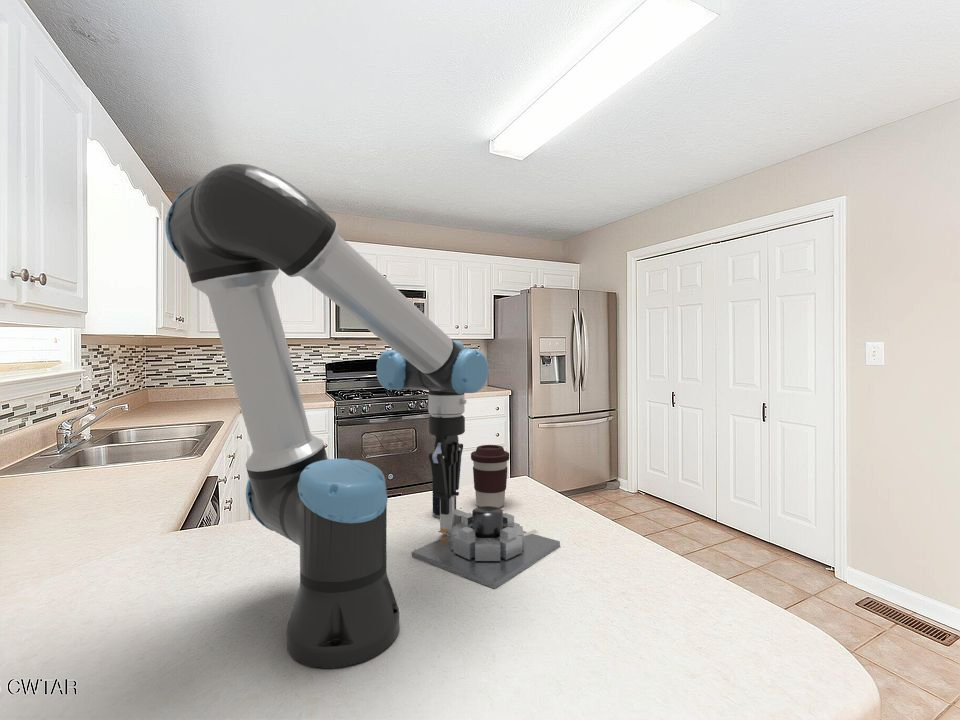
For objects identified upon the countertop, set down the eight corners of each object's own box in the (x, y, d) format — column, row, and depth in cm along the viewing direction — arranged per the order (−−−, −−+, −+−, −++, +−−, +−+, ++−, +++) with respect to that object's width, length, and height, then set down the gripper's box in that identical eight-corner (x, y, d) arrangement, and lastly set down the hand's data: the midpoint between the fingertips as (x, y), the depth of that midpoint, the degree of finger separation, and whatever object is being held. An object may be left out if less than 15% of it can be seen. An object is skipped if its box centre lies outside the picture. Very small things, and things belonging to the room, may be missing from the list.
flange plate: (494, 588, 79) (494, 541, 79) (401, 552, 93) (401, 512, 93) (564, 543, 97) (564, 504, 97) (477, 519, 112) (477, 485, 111)
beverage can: (457, 511, 117) (457, 463, 117) (454, 519, 111) (454, 469, 111) (435, 511, 118) (434, 462, 117) (430, 519, 112) (430, 468, 112)
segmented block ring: (487, 568, 84) (487, 542, 84) (418, 536, 98) (418, 514, 98) (537, 545, 93) (537, 522, 93) (468, 520, 108) (468, 499, 108)
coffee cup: (465, 502, 125) (464, 445, 124) (498, 497, 129) (498, 442, 128) (481, 513, 116) (480, 452, 115) (516, 507, 120) (516, 448, 119)
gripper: (451, 419, 91) (452, 541, 91) (474, 412, 103) (474, 519, 103) (416, 417, 94) (417, 537, 94) (442, 411, 106) (443, 516, 106)
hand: (447, 527), depth 99 cm, fingers closed
